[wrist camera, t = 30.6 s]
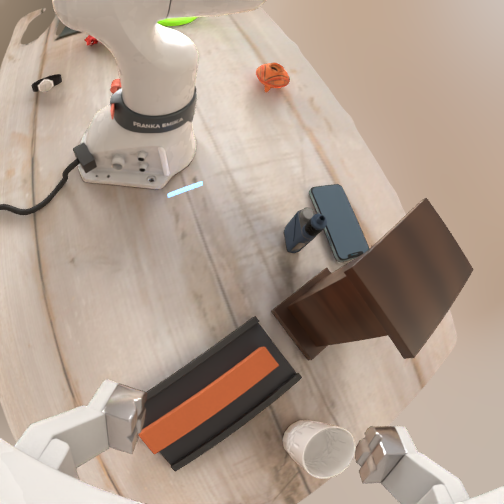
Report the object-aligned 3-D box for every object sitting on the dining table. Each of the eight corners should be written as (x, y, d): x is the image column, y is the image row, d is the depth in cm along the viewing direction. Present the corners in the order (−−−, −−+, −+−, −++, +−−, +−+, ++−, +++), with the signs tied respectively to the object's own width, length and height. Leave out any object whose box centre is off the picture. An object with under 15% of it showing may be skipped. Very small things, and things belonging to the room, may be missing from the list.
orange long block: (155, 448, 37) (154, 454, 34) (140, 430, 38) (138, 435, 35) (273, 365, 45) (279, 365, 43) (259, 347, 46) (264, 346, 43)
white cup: (286, 412, 44) (312, 422, 35) (329, 419, 45) (362, 429, 36) (272, 456, 41) (295, 476, 32) (316, 462, 42) (346, 480, 33)
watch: (32, 97, 52) (28, 87, 48) (34, 85, 53) (31, 75, 50) (62, 88, 54) (59, 76, 51) (63, 76, 55) (60, 65, 52)
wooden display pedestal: (303, 363, 47) (414, 357, 24) (266, 314, 49) (351, 267, 25) (359, 311, 53) (473, 269, 29) (326, 266, 54) (426, 197, 30)
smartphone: (341, 182, 60) (372, 252, 55) (337, 187, 61) (367, 255, 57) (309, 186, 57) (339, 261, 53) (305, 191, 59) (335, 264, 54)
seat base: (175, 467, 37) (175, 471, 36) (124, 406, 39) (122, 408, 37) (297, 377, 46) (302, 377, 45) (252, 317, 48) (255, 315, 46)
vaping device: (286, 255, 53) (315, 226, 42) (282, 226, 55) (308, 192, 44) (300, 254, 54) (332, 226, 43) (296, 226, 55) (324, 193, 44)
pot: (244, 82, 65) (254, 58, 59) (263, 77, 69) (274, 56, 64) (269, 100, 64) (282, 76, 58) (288, 95, 69) (300, 73, 63)
